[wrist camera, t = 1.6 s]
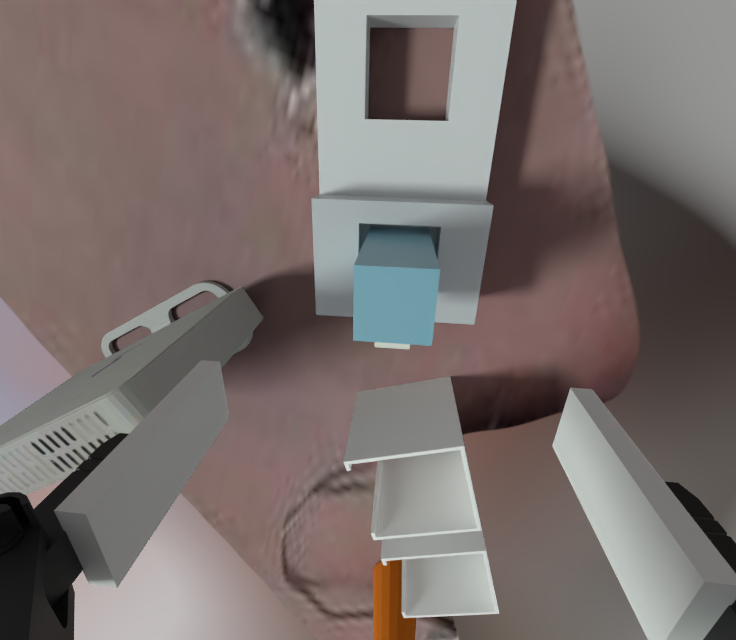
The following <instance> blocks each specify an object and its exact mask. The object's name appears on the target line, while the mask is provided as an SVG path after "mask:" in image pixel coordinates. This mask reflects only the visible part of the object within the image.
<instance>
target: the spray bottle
mask: <svg viewBox="0 0 736 640" xmlns="http://www.w3.org/2000/svg"><path fill="white" fill-rule="evenodd" d="M373 608H374V640H415V629H416V617H415V618H403V615H402V560H391V561H387V565H383V563H382V561H381V562H379V563H378V564H376V566H375V568H374V569H373Z"/></svg>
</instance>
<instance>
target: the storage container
mask: <svg viewBox="0 0 736 640" xmlns="http://www.w3.org/2000/svg"><path fill="white" fill-rule="evenodd" d="M372 461H377V470H376V481H375V492H374V503H373V515H372V526H371V535H372V537H373V540H381V539H382V548H381V561H382V563H383V565H387V561H391V560H402V615H403V618H415V617H437V616H458V615H478V614H479V615H480V614H499V610H498V606H497V600H496V595H495V590H494V585H493V580H492V575H491V570H490V566H489V561H488V556H487V551H486V546H485V541H484V536H483V531H482V526H481V521H480V517H479V512H478V507H477V502H476V497H475V492H474V488H473V483H472V478H471V474H470V469H469V464H468V459H467V455H466V450H465V445H464V440H463V435H462V430H461V426H460V421H459V416H458V411H457V406H456V402H455V397H454V392H453V387H452V382H451V378H450V377H444V378H438V379H432V380H426V381H420V382H414V383H408V384H402V385H397V386H391V387H385V388H379V389H373V390H367V391H361V392H357V396H356V401H355V406H354V411H353V416H352V421H351V426H350V431H349V436H348V441H347V447H346V452H345V457H344V465H345V467H346V470H347V471H349V470H351V466H352V464H356V463H364V462H372Z"/></svg>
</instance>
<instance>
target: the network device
mask: <svg viewBox="0 0 736 640" xmlns="http://www.w3.org/2000/svg"><path fill="white" fill-rule="evenodd" d="M202 291H210V292H212V293H214V294H215V295H216V296H217V297H218V299H216V300H214V301H212V302H210V303H208V304H207V305H205V306H203V307H201V308H199V309H197V310H195V311H193V312H192V313H190V314H188V315H186V316H184V317H182V318H180V319H178V320H176V321H175V320H174V318H173V316H172V313H171V312H172V308H173V307H174V306H176V305H178V304H180V303H182V302H183V301H185V300H187V299H189V298H191V297H193V296H194V295H196V294H198V293H200V292H202ZM262 320H263V316H262V315H261V313H260V312H259V310H258V309H257V307H256V306H255V305H254V303H253V302H252V300H251V299H250V297H249V296H248V294H247V293H246V291H245V290H244V288H243V287H239V288H237V289H235V290H233V291H231V292H229V291H228V290H227V289H226V288H225V287H224V286H222V285H220V284H218V283H215V282H212V281H202V282H199V283H196V284H194V285H193V286H191V287H189V288H187V289H185V290H184V291H182V292H180V293H178V294H176V295H175V296H173V297H171V298H169V299H167V300H166V301H164V302H162V303H160V304H158V305H157V306H155V307H153V308H151V309H149V310H148V311H146V312H144V313H142V314H140V315H139V316H137V317H135V318H133V319H132V320H130V321H128V322H126V323H124V324H123V325H121V326H119V327H117V328H115V329H114V330H112V331H110V332H109V333H107V334H106V335H105V336H104V337H103V339H102V342H101V348H102V351H103V354H104V356H105V357H106V358H105V359H103V360H101V361H99V362H97V363H96V364H94V365H92V366H90V367H88V368H86V369H84V370H83V371H81V372H79V373H78V374H76V375H74V376H73V377H71V378H70V379H68V380H67V381H65V382H64V383H62V384H61V385H59V386H58V387H57V388H55V389H54V390H52V391H51V392H49V393H48V394H46V395H45V396H43V397H42V398H40V399H39V400H38V401H36V402H35V403H33V404H32V405H30V406H29V407H27V408H26V409H25V410H23V411H22V412H20V413H19V414H17V415H16V416H14V417H13V418H11V419H10V420H8V421H7V422H5V423H4V424H2V425H1V426H0V494H3V493H7V492H20V493H22V494H24V495H27V494H29V493H32V492H34V491H36V490H39V489H41V488H43V487H46V486H48V485H50V484H53V483H55V482H58V481H60V480H63V479H65V478H67V477H68V476H69V475H70V474H71V473H72V472H75V471H76V468H77V467H78V466H79V465H80V464H81V463H82V462H83V461H84V460H87V459H88V457H89V456H90V455H91V454H92V453H93V452H94V451H95V450H96V449H97V448H98V447H99V446H100V445H101V444H102V443H104V442H106V441H107V440H109V439H111V438H112V437H114V436H116V435H117V434H119V433H127V434H129V433H130V432H131V431H132V430H133V429H134V428H135V427H136V426H137V425H138V424H139V423H140V422H141V421H142V420H143V419H144V418H145V417H146V416H147V415H148V414H149V413H150V412H151V411H152V410H153V409H154V408H155V407H156V406H157V405H158V404H159V403H160V402H161V401H162V400H163V399H164V398H165V397H166V396H167V395H168V394H169V393H170V391H171V390H172V389H173V388H174V387H175V386H176V385H177V384H178V383H179V382H180V381H181V380H182V379H183V378H184V377H185V376H186V375H187V374H188V373H189V372H190V371H191V370H192V369H193V368H194V367H195V366H196V365H197V364H198V363H199V362H200V361H201V360H206V361H219V362H220V364H221V369H222V368H223V366H224V365H225V364H226V363H227V362H228V360H229V359H230V358H231V357H232V356H233V354H235V353H237V352H239V351H241V350H243V349H244V348H246V346H247V345H248V344H249V343H250V341H251V339H252V337H253V331H254V329H255V328H256V327H257V326H258V325H259V323H260V322H261V321H262ZM138 326H145V327H147V328H149V329H150V330H151V332H152V334H150V335H148V336H146V337H144V338H143V339H141V340H139V341H137V342H135V343H133V344H131V345H129V346H128V347H126V348H124V349H122V350H120V351H118V352H116V351H115V350H114V348H113V345H112V342H113V340H114V339H116V338H118V337H119V336H121V335H123V334H125V333H127V332H129V331H130V330H132V329H134V328H136V327H138Z"/></svg>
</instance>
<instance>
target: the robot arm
mask: <svg viewBox="0 0 736 640" xmlns="http://www.w3.org/2000/svg"><path fill="white" fill-rule="evenodd" d="M228 419H229V413H228V406H227V400H226V394H225V388H224V382H223V376H222V370H221V364H220V362H219V361H206V360H201V361H200V362H199V363H198V364H197V365H196V366H195V367H194V368H193V369H192V370H191V371H190V372H189V373H188V374H187V375H186V376H185V377H184V378H183V379H182V380H181V381H180V382H179V383H178V384H177V385H176V386H175V387H174V388H173V389H172V390H171V391H170V393H169V394H168V395H167V396H166V397H165V398H164V399H163V400H162V401H161V402H160V403H159V404H158V405H157V406H156V407H155V408H154V409H153V410H152V411H151V412H150V413H149V414H148V415H147V416H146V417H145V418H144V419H143V420H142V421H141V422H140V423H139V424H138V425H137V426H136V427H135V428H134V429H133V430H132V431H131V432H130V433H129V434H127V433H119V434H117V435H116V436H114V437H112V438H111V439H109V440H107V441H106V442H104V443H102V444H101V445H100V446H99V447H98V448H97V449H96V450H95V451H94V452H93V453H92V454H91V455H90V456H89V457H88V459H87V460H84V461H83V462H82V463H81V464H80V465H79V466H78V467H77V468H76V471H75V472H72V473H71V474H70V475H69V476H68V477H67V478H66V479H65V480H64V481H63V482H62V483H61V484H60V485H58V486H57V487H56V488H55V490H53V491H52V492H51V493H50V494H49V495H48V496H47V497H46V498H45V499H44V500H43V501H42V502H41V503H40V504H39V505H38V506H37V507H36V508H35V509H33V507H32V505H31V503H30V501H29V499H28V498H27V496H26V495H24V494H22V493H20V492H7V493H3V494H0V640H74V597H75V595H74V594H75V593H74V589H73V586H72V583H73V582H74V581H75V579H76V578H77V577H78V575H79V574H80V573H81V571H82V570H83V572H84V574H85V576H86V579H87V581H88V583H89V584H91V585H99V586H107V587H115V588H117V587H118V586H119V584H120V583H121V581H122V580H123V578H124V577H125V575H126V574H127V572H128V571H129V569H130V568H131V566H132V565H133V563H134V562H135V560H136V559H137V557H138V556H139V554H140V552H141V551H142V550H143V548H144V547H145V545H146V544H147V542H148V540H149V539H150V537H151V536H152V534H153V533H154V531H155V530H156V528H157V527H158V525H159V524H160V522H161V521H162V519H163V518H164V516H165V515H166V513H167V512H168V510H169V509H170V507H171V506H172V504H173V503H174V501H175V500H176V498H177V497H178V495H179V494H180V492H181V491H182V489H183V488H184V486H185V485H186V483H187V481H188V480H189V478H190V477H191V475H192V474H193V472H194V471H195V469H196V468H197V466H198V465H199V463H200V462H201V460H202V459H203V457H204V456H205V454H206V453H207V451H208V450H209V448H210V447H211V445H212V444H213V442H214V441H215V439H216V438H217V436H218V435H219V433H220V432H221V430H222V429H223V427H224V426H225V424H226V422H227V421H228ZM552 446H553V448H554V450H555V452H556V455H557V457H558V459H559V461H560V463H561V465H562V467H563V469H564V471H565V473H566V475H567V477H568V479H569V481H570V483H571V485H572V487H573V489H574V491H575V493H576V495H577V497H578V499H579V501H580V503H581V505H582V507H583V509H584V511H585V513H586V515H587V517H588V519H589V521H590V523H591V525H592V527H593V529H594V531H595V533H596V535H597V537H598V539H599V541H600V543H601V546H602V548H603V550H604V552H605V554H606V556H607V558H608V559H609V562H610V564H611V566H612V568H613V570H614V572H615V574H616V576H617V578H618V580H619V582H620V584H621V586H622V588H623V590H624V592H625V594H626V596H627V598H628V600H629V602H630V604H631V606H632V608H633V610H634V612H635V614H636V616H637V618H638V620H639V622H640V624H641V626H642V628H643V630H644V633H645V634H646V637H647V639H648V640H736V543H735V542H734V541H733V540H732V538H731V537H729V536H727V532H725V530H724V529H723V528H722V526H721V525H720V524H719V523H718V522H717V521H715V520H714V517H713V516H712V514H711V513H710V512H709V511H708V510H707V508H706V507H705V506H704V505H703V504H702V503H701V501H700V500H699V499H698V498H696V497H695V496H694V495H693V494H691V493H690V492H689V491H688V490H686V489H685V488H684V487H683V486H681V485H680V484H679V483H674V482H664V481H663V480H662V478H661V477H660V476H659V474H658V473H657V472H656V471H655V469H654V468H653V467H652V465H651V464H650V463H649V462H648V460H647V459H646V458H645V456H644V455H643V454H642V453H641V451H640V450H639V449H638V447H637V446H636V445H635V444H634V442H633V441H632V440H631V439H630V437H629V436H628V435H627V433H626V432H625V431H624V429H623V428H622V427H621V426H620V424H619V423H618V422H617V421H616V420H615V418H614V417H613V415H612V414H611V413H610V412H609V411H608V409H607V408H606V406H605V405H604V404H603V402H602V401H601V400H600V399H599V397H598V396H597V395H596V394H595V392H594V391H593V390H592V389H580V388H570V390H569V394H568V397H567V400H566V403H565V407H564V410H563V413H562V416H561V419H560V423H559V426H558V429H557V433H556V436H555V439H554V442H553V445H552Z"/></svg>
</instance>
